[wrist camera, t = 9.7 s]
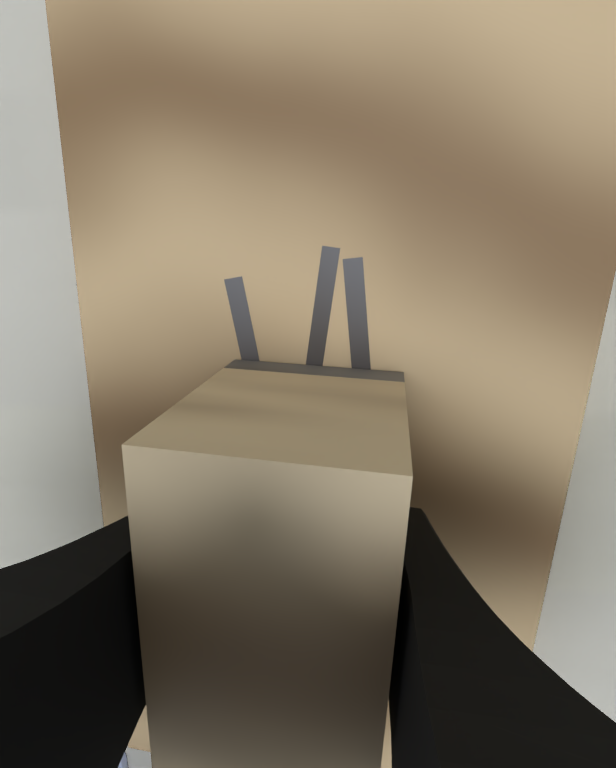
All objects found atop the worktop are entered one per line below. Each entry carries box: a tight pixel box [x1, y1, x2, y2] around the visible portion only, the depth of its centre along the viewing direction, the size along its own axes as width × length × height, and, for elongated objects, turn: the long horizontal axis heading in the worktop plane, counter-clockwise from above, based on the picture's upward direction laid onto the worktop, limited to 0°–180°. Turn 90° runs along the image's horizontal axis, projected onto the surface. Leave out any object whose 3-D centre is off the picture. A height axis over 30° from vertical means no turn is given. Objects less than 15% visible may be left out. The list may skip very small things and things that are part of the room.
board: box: [45, 0, 616, 768], centre depth 12 cm, size 22×12×1 cm, turn 178°
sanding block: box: [122, 359, 413, 768], centre depth 10 cm, size 7×4×5 cm, turn 178°
